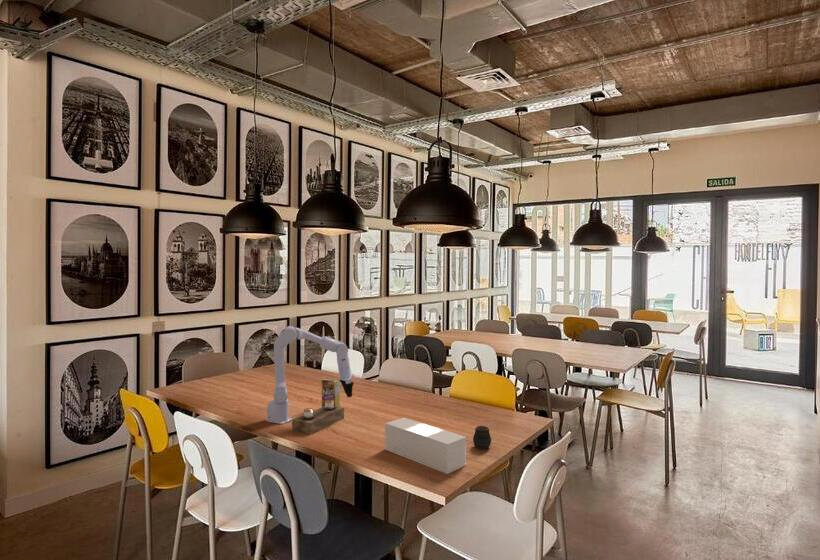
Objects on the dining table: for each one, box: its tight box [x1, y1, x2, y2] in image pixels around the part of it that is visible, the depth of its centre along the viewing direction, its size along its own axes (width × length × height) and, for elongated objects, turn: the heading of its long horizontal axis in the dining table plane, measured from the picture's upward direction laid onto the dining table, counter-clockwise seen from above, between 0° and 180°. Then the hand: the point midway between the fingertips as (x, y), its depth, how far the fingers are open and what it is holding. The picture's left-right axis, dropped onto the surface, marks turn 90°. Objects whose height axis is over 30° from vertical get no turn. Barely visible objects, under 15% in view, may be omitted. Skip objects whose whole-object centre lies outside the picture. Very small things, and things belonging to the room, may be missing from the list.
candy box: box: [321, 377, 341, 407], centre depth 243 cm, size 9×4×15 cm, turn 60°
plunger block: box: [291, 406, 345, 436], centre depth 219 cm, size 10×26×5 cm, turn 155°
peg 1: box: [303, 407, 314, 421], centre depth 212 cm, size 4×4×4 cm
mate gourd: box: [472, 425, 492, 450], centre depth 193 cm, size 7×8×10 cm
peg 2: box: [325, 400, 334, 411], centre depth 226 cm, size 4×4×4 cm
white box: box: [384, 417, 467, 475], centre depth 183 cm, size 32×11×11 cm, turn 46°
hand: (348, 394), depth 232 cm, fingers open, 7 cm apart
